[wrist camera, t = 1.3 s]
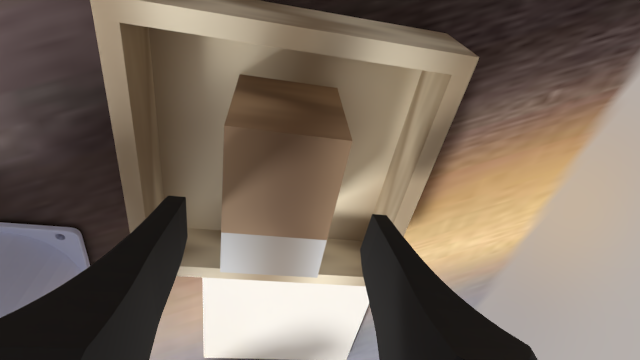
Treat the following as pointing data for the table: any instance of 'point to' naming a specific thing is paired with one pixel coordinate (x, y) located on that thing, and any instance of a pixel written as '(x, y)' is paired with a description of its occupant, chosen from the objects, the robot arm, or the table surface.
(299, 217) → the walnut block
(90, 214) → the table surface
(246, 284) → the ceramic trivet
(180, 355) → the table surface
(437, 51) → the birch crate
